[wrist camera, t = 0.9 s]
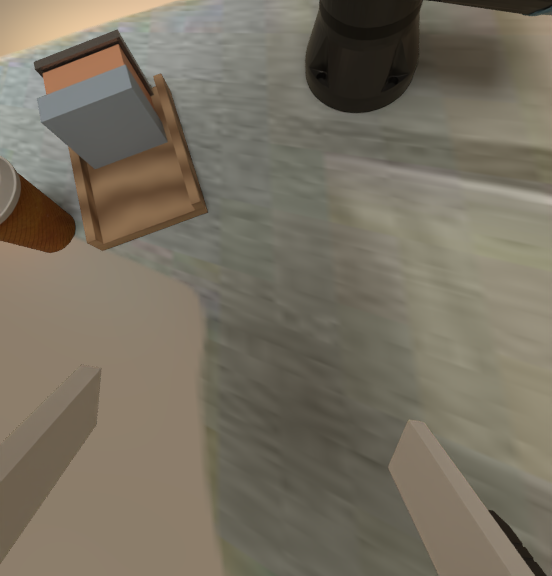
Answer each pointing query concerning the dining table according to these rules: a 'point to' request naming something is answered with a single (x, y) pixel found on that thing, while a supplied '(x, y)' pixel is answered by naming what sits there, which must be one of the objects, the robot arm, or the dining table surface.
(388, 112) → the dining table surface
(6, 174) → the disposable coffee cup
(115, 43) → the bookend
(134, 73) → the books
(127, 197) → the wooden serving tray
